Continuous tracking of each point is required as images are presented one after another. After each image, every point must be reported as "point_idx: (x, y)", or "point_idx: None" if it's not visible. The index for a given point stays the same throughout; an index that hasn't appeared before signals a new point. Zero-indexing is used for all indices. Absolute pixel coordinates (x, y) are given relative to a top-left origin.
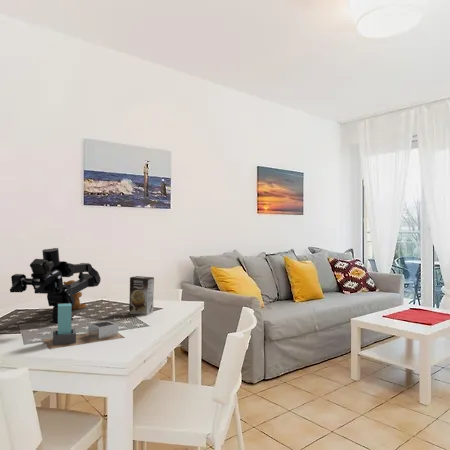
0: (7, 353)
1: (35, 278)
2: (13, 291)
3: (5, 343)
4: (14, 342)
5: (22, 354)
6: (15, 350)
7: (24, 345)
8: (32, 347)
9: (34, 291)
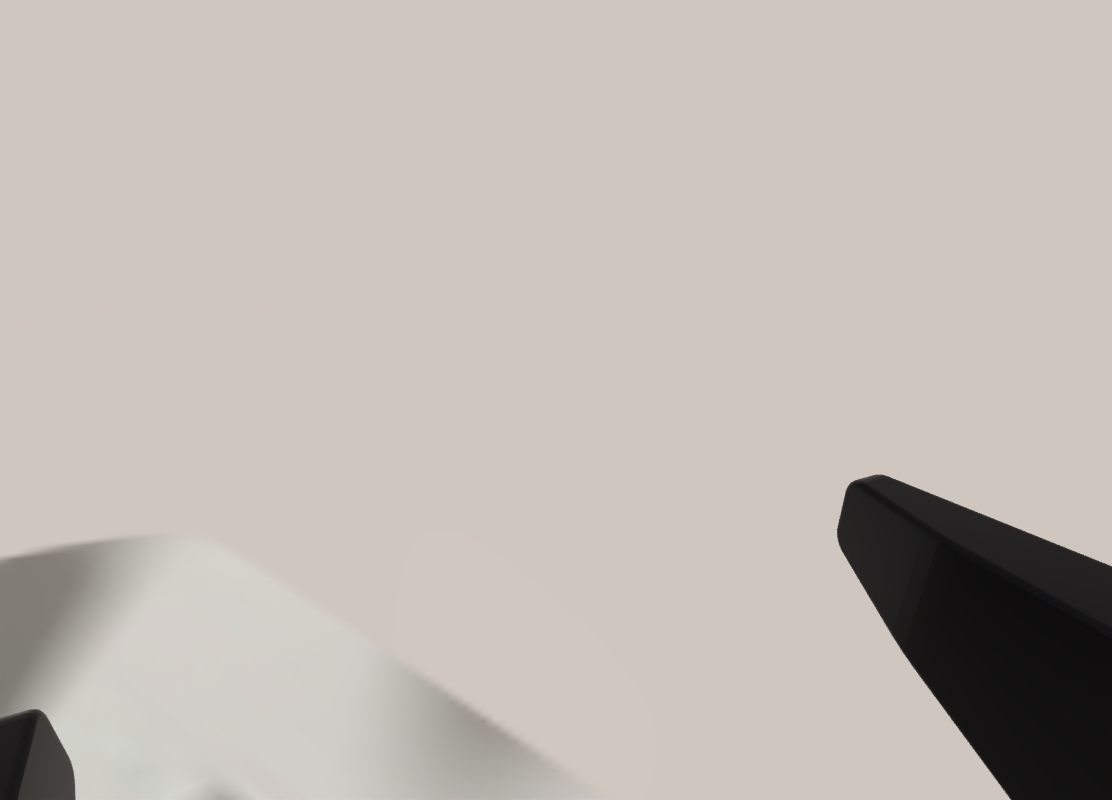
0: (180, 544)
1: None
2: (892, 616)
3: (467, 717)
4: (408, 791)
5: (14, 582)
6: (170, 622)
7: (199, 772)
8: None
9: (51, 726)
